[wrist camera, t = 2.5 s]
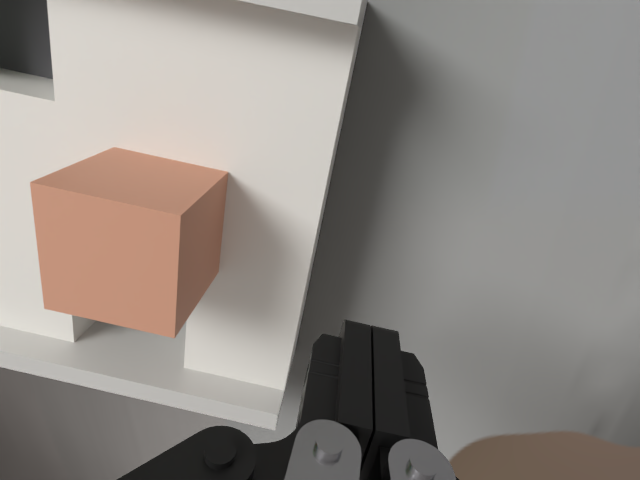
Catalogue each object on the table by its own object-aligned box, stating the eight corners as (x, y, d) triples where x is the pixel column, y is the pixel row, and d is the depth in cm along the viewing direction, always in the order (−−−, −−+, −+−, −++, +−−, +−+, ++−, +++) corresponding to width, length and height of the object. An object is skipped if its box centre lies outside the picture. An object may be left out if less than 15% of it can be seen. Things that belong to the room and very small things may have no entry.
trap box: (367, 0, 17) (365, -15, 12) (294, 352, 25) (275, 430, 20) (-188, -115, 18) (-408, -175, 13) (-88, 265, 25) (-200, 320, 20)
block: (228, 171, 16) (180, 215, 12) (218, 272, 18) (174, 338, 14) (114, 146, 17) (29, 182, 13) (116, 249, 19) (44, 308, 14)
